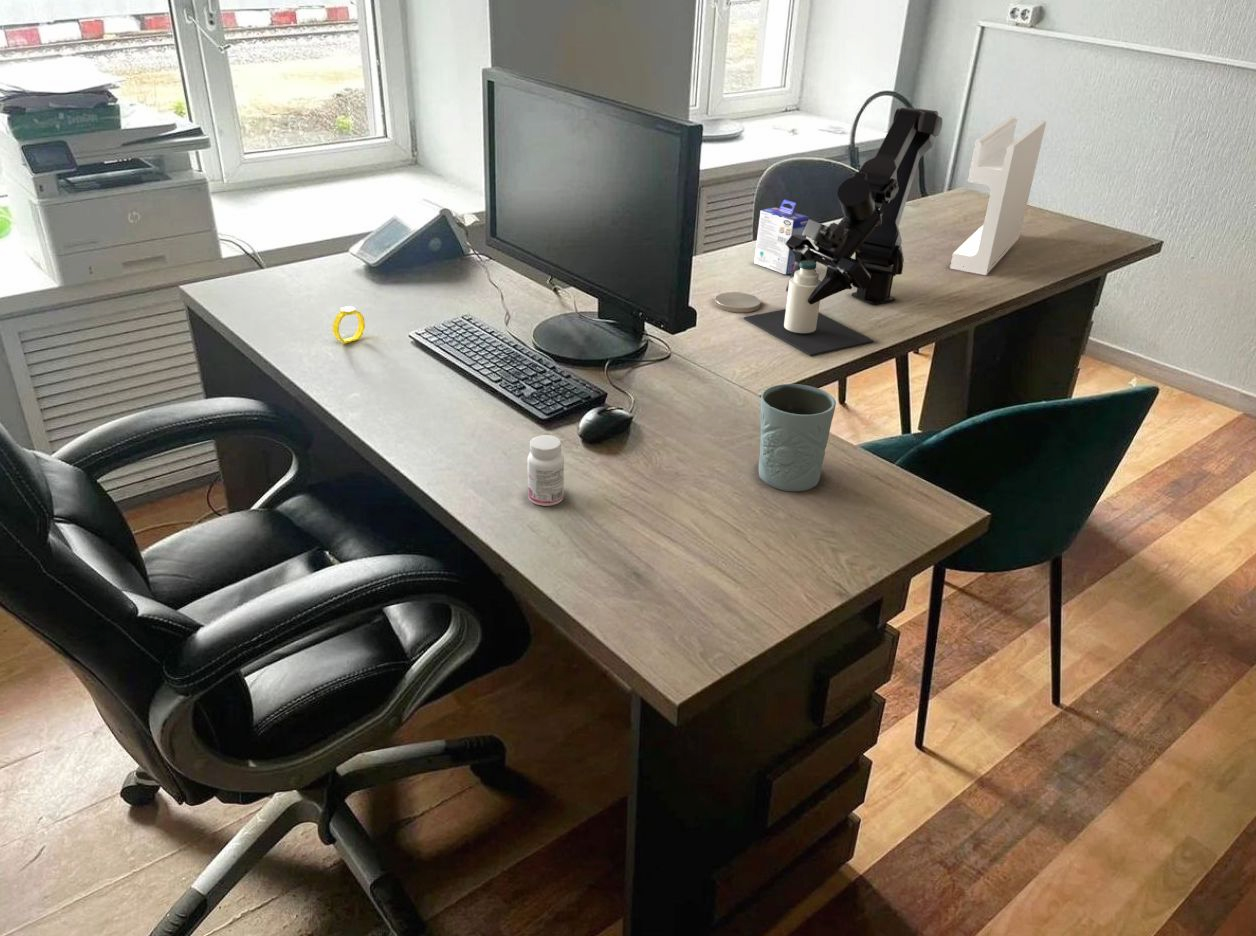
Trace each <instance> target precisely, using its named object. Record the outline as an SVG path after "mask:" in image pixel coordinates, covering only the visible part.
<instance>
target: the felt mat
mask: <svg viewBox="0 0 1256 936" xmlns="http://www.w3.org/2000/svg"><path fill="white" fill-rule="evenodd" d="M785 313H786V308H784V309H779V310H774V311H768V312H764V313H757V314H752V315H748V316H743V319H744V320H745V321H747V322H748V323H751V324H752V325H754V326H755V327H758V328H759V329H761V330H763V331H765V332H766V333H768V334H770V335H772V336H774V337H776V338H777V339H778V340H780V341H782V342H784V343H786V344H788V345H790V346H791V347H793V348H795V349H797V350H799V351H800V352H802V353H804V354H805V355H807V356H809V357H813V356H818V355H822V354H827V353H831V352H832V353H833V352H836V351H839V350H845V349H849V348H854V347H858V346H859V347H860V346H863V345H869V344H873V343H874V339H872V338H870V337H868V336H866V335H864V334H862V333H860V332H858V331H856V330H854V329H852V328H850V327H848V326H846V325H845V324H843V323H840V322H838V321H837V320H835V319H832V318H830V317H828V316H827V315H824V314H822V313H820V312H818V319H817V326H816V330H815V331H814V332H811V333H796V332H792V331H789V330H787V329H786V328H785V327H784V321H785Z"/></svg>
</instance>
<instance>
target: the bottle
mask: <svg viewBox="0 0 1256 936" xmlns="http://www.w3.org/2000/svg"><path fill="white" fill-rule="evenodd" d="M799 267H800V270H797V271H795V274H794V277H792V278H791V279H790V278H789V280H788V282H789V287H788V293H787V297H786V306H785V309H786V313H785V321H784V327H785V328H786V329H787V330H789V331H792V332H796V333H811V332H814V331H815V330H816V326H817V319H818V313H819V311H820V310H819V309H820V303H821V300H820V301H818V302H816V303H814V304H812V305H811V304H809V303H808V299H809V297H810V296H811V294H812V293H813V292H814V290H815V289H816V288H817V286H818V285H819V284H820V282H821V281H822V280H821V279H819V277H820V273H818V272H817V271H816V272H815V271H814V270H816V269H817V262H816V263H815V262H813V261H808V260H804V261H801V262H800V265H799Z"/></svg>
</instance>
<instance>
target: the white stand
mask: <svg viewBox="0 0 1256 936" xmlns="http://www.w3.org/2000/svg"><path fill="white" fill-rule="evenodd" d="M1017 122H1018V119H1016V116H1010V117H1009V118H1007V119H1005V120H1003V122H1001V123H1000V124H998V125H997V126H995V127H994V128H992V129H990V130H988V132H986V133H984V134H983V135H981V136H980V137H978V138H976V140H974V141H975V142H974V147H975V148H973V152H972V157H971V162H970V166H969V171H968V174H969V175H968V177H967V183H970V184H977V185H983V186H986V187H987V188H988V189H989V198H988V202H987V208H986V212H985V215H984V216H985V217H984V222H983V224H982V225H981V226H980V227H979V228H977V230H975V231H974V232H973V234H972V235H970V236H969V237H968V238H967V239H966V240H965V241H964V242H963V243H962V244H961V245H960V246H959V247H957V249H955V251H954V252H952V255H951V257H952V258H951V260H950V263H951V264H950V265H949V269H952V270H957V271H961V272H967V273H972V274H977V275H983V276H987V275H988V274H989V272H991V271H992V269H993V268H995V266H996V265H997V264H998V262H1000V261H1001V259H1002V258H1003V257H1004V256H1005V255H1006V254H1007V252H1008V251H1009V250H1010V249H1011V248H1012V247H1013V246H1014V245H1015V244H1016V243H1017V241H1018V240H1020V236H1021V233H1022V232H1021V231H1022V228H1023V223H1024V219H1025V215H1026V211H1027V206H1028V202H1029V198H1030V194H1031V189H1032V184H1033V181H1034V176H1035V171H1036V169H1037V164H1038V159H1039V155H1040V151H1041V147H1042V142H1043V138H1044V135H1045V133H1044V132H1045V130H1046V125H1047V120H1041V121H1040V122H1038V123H1037V124H1036V125H1034V126H1033V127H1031V128H1030V129H1029V130H1027V131H1026V132H1025V133H1023V134H1022V135H1021V136H1020V137H1019V138H1017V139H1016V140H1014V137H1015V131H1016V127H1017V125H1016V124H1017ZM1019 233H1020V235H1019V236H1018V234H1019ZM1017 236H1018V237H1017ZM1016 237H1017V238H1016ZM1015 238H1016V239H1015ZM1014 239H1015V240H1014ZM1013 240H1014V242H1013V243H1012V241H1013ZM1011 243H1012V244H1011ZM1010 244H1011V245H1010ZM1009 245H1010V246H1009ZM1008 246H1009V247H1008ZM1007 247H1008V248H1007ZM1006 248H1007V249H1006ZM1005 249H1006V250H1005ZM1004 250H1005V252H1004ZM1003 252H1004V253H1003ZM1002 253H1003V254H1002ZM1001 254H1002V255H1001ZM1000 255H1001V256H1000ZM999 256H1000V257H999ZM995 261H996V262H995ZM994 262H995V263H994ZM993 263H994V264H993ZM992 264H993V265H992ZM963 266H964V267H963Z"/></svg>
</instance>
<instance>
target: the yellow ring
mask: <svg viewBox="0 0 1256 936" xmlns="http://www.w3.org/2000/svg"><path fill="white" fill-rule="evenodd" d="M353 315H356V317H357V318H358V326H357V329H356V332H355V333H354V335H353V336H350V337H347V338H342V336H341V334H340V325H341V323H342V320H343V319H344V317H346V316H353ZM365 328H366V321H365V318H364V315H363V314H362V313H361V312H360V311H358V310H357V308H356V307H355V306H351V305H350V306H348V305H347V306H342V307H340V308H339V313H338V314H337V315H336V316H335V317H334V320H333V323H332V333H333V335H334V338H335V339H336V340H337V341H339V342H340V343H343V344H348V343H353V342H355V341H359V340H360V339H361V338H362V336H363V334H364V331H365Z"/></svg>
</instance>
